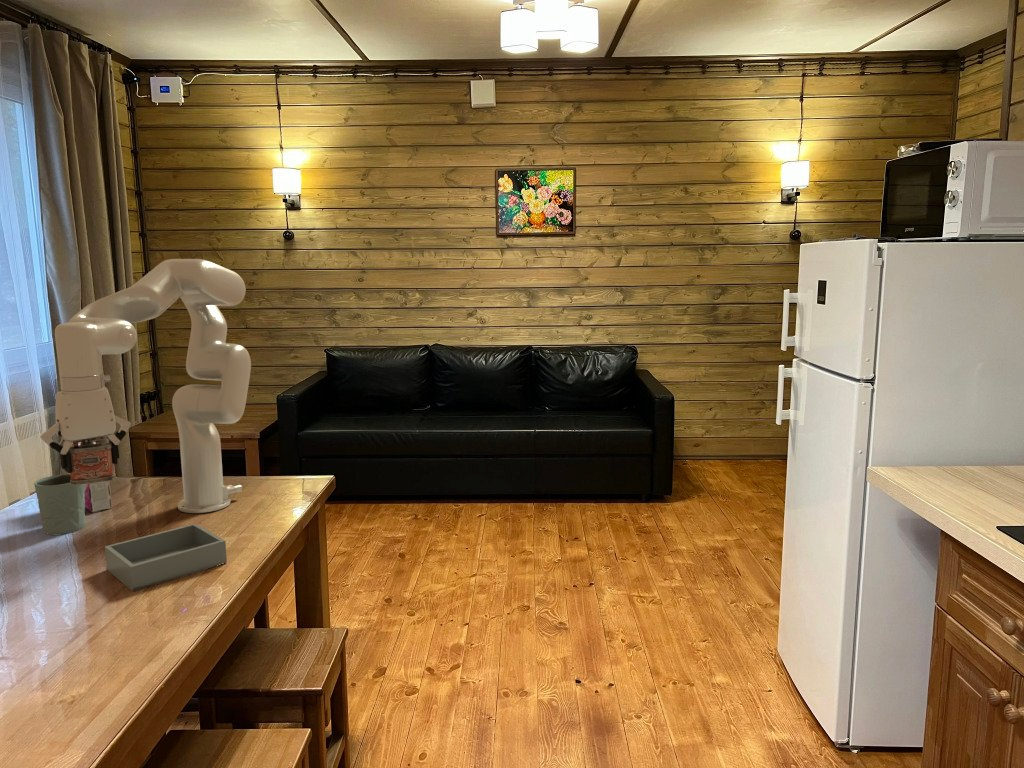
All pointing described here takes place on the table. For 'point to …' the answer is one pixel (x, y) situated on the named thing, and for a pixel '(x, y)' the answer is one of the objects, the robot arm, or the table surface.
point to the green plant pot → (60, 504)
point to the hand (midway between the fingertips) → (91, 466)
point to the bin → (164, 556)
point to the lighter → (91, 462)
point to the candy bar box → (97, 495)
